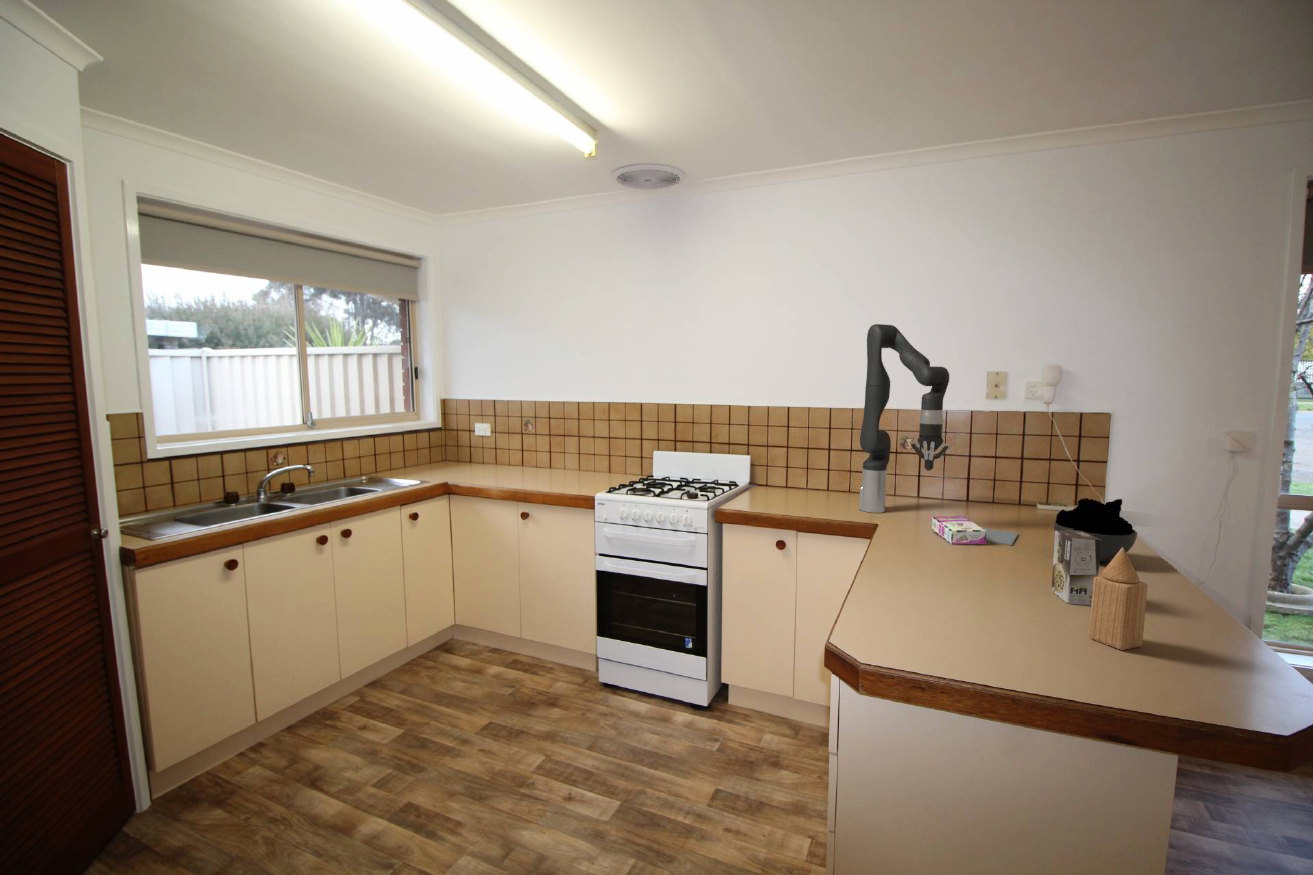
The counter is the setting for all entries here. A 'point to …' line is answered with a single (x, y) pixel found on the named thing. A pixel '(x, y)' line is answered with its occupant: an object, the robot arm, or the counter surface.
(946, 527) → the candy bar box
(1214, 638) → the counter surface
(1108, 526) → the bowl of black rocks
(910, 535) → the counter surface
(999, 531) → the mat
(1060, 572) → the coffee box
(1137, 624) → the decorative item
